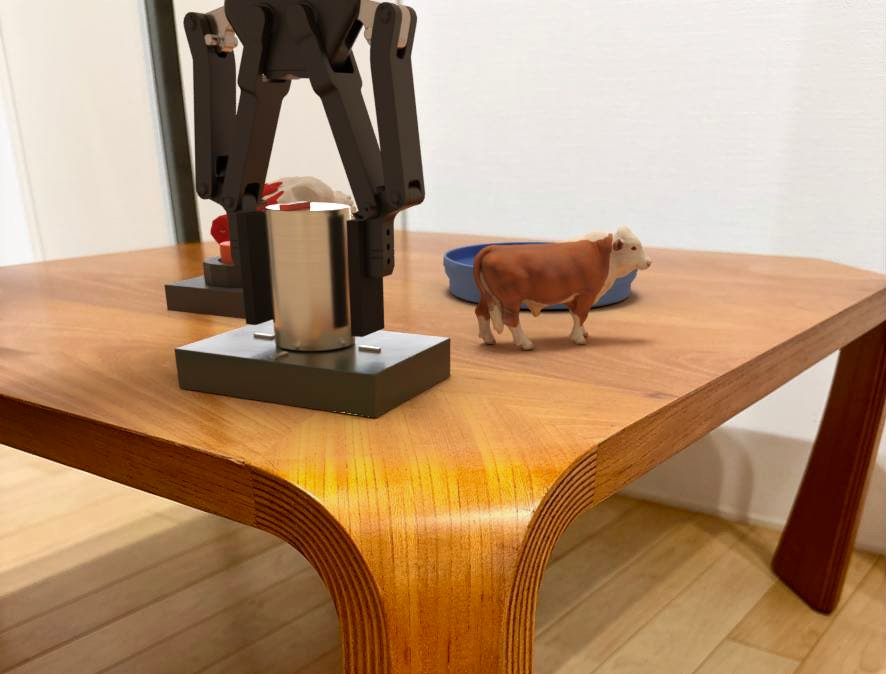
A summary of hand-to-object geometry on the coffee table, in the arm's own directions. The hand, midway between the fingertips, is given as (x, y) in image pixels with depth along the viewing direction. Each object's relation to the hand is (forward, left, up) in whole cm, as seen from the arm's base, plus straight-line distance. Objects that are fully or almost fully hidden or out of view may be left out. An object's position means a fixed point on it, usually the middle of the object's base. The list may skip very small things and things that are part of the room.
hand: (314, 325), depth 57 cm
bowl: (+2, +35, -4) cm, 35 cm away
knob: (0, 0, -1) cm, 1 cm away
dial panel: (0, 0, -4) cm, 4 cm away
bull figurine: (+10, +17, -4) cm, 20 cm away
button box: (-19, +18, -4) cm, 26 cm away
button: (-19, +18, 0) cm, 26 cm away
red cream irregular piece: (-32, +42, -4) cm, 53 cm away
